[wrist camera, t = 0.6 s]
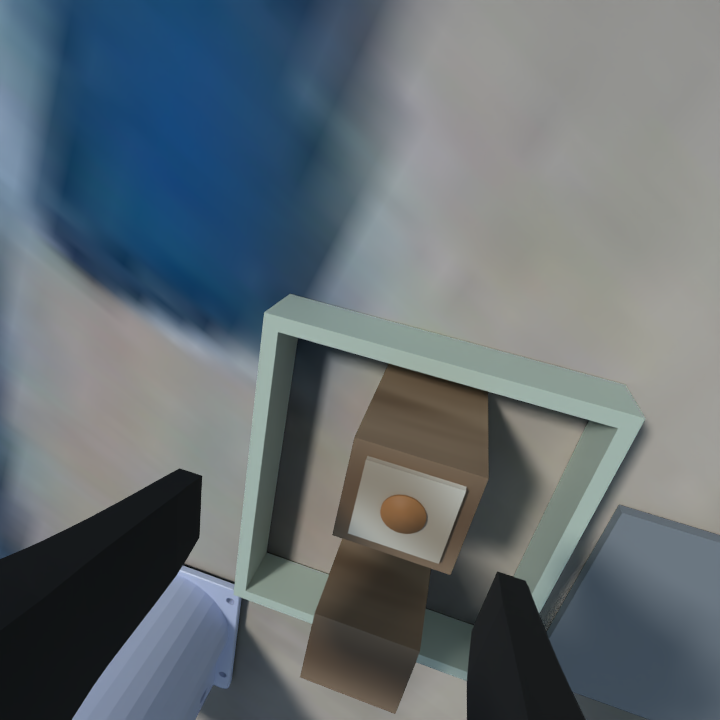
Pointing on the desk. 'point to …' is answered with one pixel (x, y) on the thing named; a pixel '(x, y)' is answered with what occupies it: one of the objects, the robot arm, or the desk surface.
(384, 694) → the plain block
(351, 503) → the labelled block
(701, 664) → the mat
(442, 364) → the bin
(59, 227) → the desk surface
